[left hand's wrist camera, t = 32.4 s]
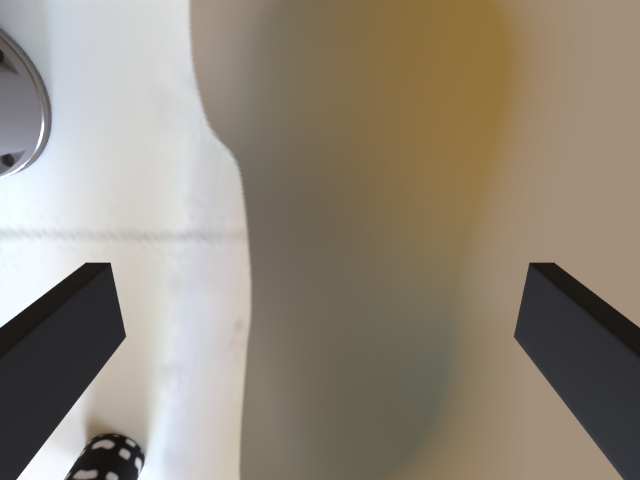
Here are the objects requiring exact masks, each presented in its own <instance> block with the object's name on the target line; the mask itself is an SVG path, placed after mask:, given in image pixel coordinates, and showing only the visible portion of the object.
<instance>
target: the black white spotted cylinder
mask: <svg viewBox="0 0 640 480" xmlns="http://www.w3.org/2000/svg"><path fill="white" fill-rule="evenodd" d="M144 462H145V459H144V454H143V452H142V450H141V449H140V448H139V447H138V445H137V444H135V443H134V442H133V441H131V440H129V439H127V438H125V437H122V436H118V435H101V436H97V437H95V438H93V439H92V440H90V441H89V442H88V444H87V445H86V447H85V448H84V450H83V451H82V453H81V454H80V456H79V457H78V459H77V460H76V462H75V464H74V465H73V467H72V468H71V470H70V471H69V473H68V474H67V476H66V477H65V479H64V480H137V479H138V477H139V474H140V472H141V470H142V468H143V466H144Z"/></svg>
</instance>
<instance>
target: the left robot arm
mask: <svg viewBox="0 0 640 480" xmlns="http://www.w3.org/2000/svg"><path fill="white" fill-rule="evenodd" d="M50 130H51V108H50V102H49V97H48V94H47V91H46V88H45V85H44V83H43V80H42V78H41V76H40V74H39V72H38V71H37V69H36V67H35V66H34V64H33V63H32V61H31V60H30V58H29V57H28V56H27V54H26V53H25V52H24V51H23V50H22V49H21V48H20V46H19V45H18V44H17V43H16V42H15V41H13V40H12V39H11V38H10V37H9V36H8V35H7V34H5V33H4V32H3V31H1V30H0V178H1V177H4V176H8V175H11V174H15V173H17V172H20V171H22V170H24V169H26V168H27V167H29V166H30V165H31V164H33V163H34V162H35V161H36V160H37V159H38V157H39V156H40V155H41V153H42V152H43V150H44V148H45V146H46V144H47V142H48V138H49V135H50ZM125 338H126V334H125V329H124V325H123V320H122V315H121V310H120V306H119V301H118V296H117V291H116V287H115V282H114V277H113V272H112V268H111V263H85V264H84V265H82V266H81V267H80V268H78V269H77V270H76V271H74V272H73V273H72V274H70V275H69V276H68V277H67V278H65V279H64V280H63V281H61V282H60V283H59V284H57V285H56V286H55V287H53V288H52V289H51V290H49V291H48V292H47V293H45V294H44V295H43V296H42V297H40V298H39V299H38V300H36V301H35V302H34V303H32V304H31V305H30V306H28V307H27V308H26V309H24V310H23V311H22V312H21V313H19V314H18V315H17V316H15V317H14V318H13V319H11V320H10V321H9V322H7V323H6V324H5V325H3V326H2V327H1V328H0V480H16V479H17V478H18V477H19V476H20V474H21V473H22V472H23V470H24V469H25V468H26V466H27V465H28V464H29V463H30V461H31V460H32V459H33V457H34V456H35V455H36V453H37V452H38V451H39V450H40V448H41V447H42V446H43V444H44V443H45V442H46V440H47V439H48V438H49V436H50V435H51V434H52V433H53V431H54V430H55V429H56V427H57V426H58V425H59V423H60V422H61V421H62V420H63V418H64V417H65V416H66V414H67V413H68V412H69V410H70V409H71V408H72V407H73V405H74V404H75V403H76V401H77V400H78V399H79V397H80V396H81V395H82V394H83V392H84V391H85V390H86V388H87V387H88V386H89V384H90V383H91V382H92V381H93V379H94V378H95V377H96V375H97V374H98V373H99V371H100V370H101V369H102V368H103V366H104V365H105V364H106V362H107V361H108V360H109V358H110V357H111V356H112V355H113V353H114V352H115V351H116V349H117V348H118V347H119V345H120V344H121V343H122V341H123V340H124V339H125ZM514 338H515V339H516V340H517V341H518V343H519V344H520V345H521V347H522V348H523V349H524V351H525V352H526V353H527V355H528V356H529V357H530V358H531V360H532V361H533V362H534V364H535V365H536V366H537V367H538V369H539V370H540V371H541V373H542V374H543V375H544V377H545V378H546V379H547V380H548V382H549V383H550V384H551V386H552V387H553V388H554V390H555V391H556V392H557V394H558V395H559V396H560V397H561V399H562V400H563V401H564V403H565V404H566V405H567V407H568V408H569V409H570V410H571V412H572V413H573V414H574V416H575V417H576V418H577V420H578V421H579V422H580V423H581V425H582V426H583V427H584V429H585V430H586V431H587V433H588V434H589V435H590V436H591V438H592V439H593V440H594V442H595V443H596V444H597V446H598V447H599V448H600V450H601V451H602V452H603V453H604V455H605V456H606V457H607V459H608V460H609V461H610V462H611V464H612V465H613V466H614V468H615V469H616V470H617V472H618V473H619V474H620V476H621V477H622V478H623V479H624V480H640V328H639V327H638V326H637V325H635V324H634V323H633V322H631V321H630V320H629V319H627V318H626V317H625V316H623V315H622V314H621V313H619V312H618V311H617V310H616V309H614V308H613V307H612V306H610V305H609V304H608V303H606V302H605V301H604V300H602V299H601V298H600V297H598V296H597V295H596V294H595V293H593V292H592V291H591V290H589V289H588V288H587V287H585V286H584V285H583V284H581V283H580V282H579V281H577V280H576V279H575V278H573V277H572V276H571V275H570V274H568V273H567V272H566V271H564V270H563V269H562V268H560V267H559V266H558V265H556V264H555V263H529V268H528V272H527V277H526V282H525V287H524V291H523V296H522V301H521V306H520V310H519V315H518V320H517V325H516V329H515V334H514Z"/></svg>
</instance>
